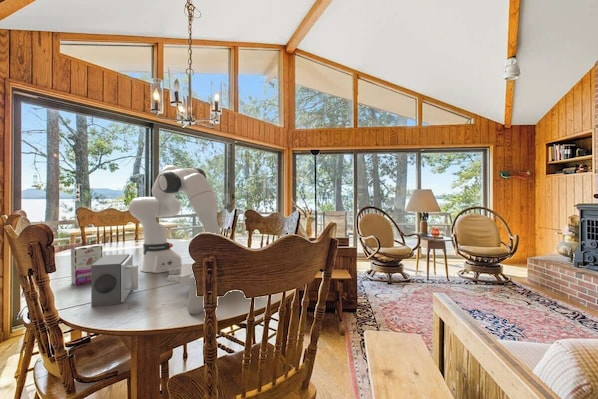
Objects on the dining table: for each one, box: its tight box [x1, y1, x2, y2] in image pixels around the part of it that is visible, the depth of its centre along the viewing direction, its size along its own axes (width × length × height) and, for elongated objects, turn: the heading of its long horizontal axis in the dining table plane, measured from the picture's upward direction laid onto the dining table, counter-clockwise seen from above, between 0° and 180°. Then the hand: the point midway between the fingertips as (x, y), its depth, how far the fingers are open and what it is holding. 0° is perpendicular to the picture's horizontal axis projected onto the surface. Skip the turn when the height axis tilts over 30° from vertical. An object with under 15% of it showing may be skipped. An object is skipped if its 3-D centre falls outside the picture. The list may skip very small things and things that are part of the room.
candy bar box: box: [70, 243, 103, 286], centre depth 136 cm, size 11×5×16 cm, turn 148°
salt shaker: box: [186, 275, 204, 316], centre depth 103 cm, size 6×6×13 cm
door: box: [121, 254, 139, 303], centre depth 120 cm, size 18×5×14 cm, turn 20°
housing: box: [90, 253, 130, 308], centre depth 116 cm, size 20×9×15 cm, turn 20°
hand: (168, 274), depth 119 cm, fingers open, 8 cm apart
